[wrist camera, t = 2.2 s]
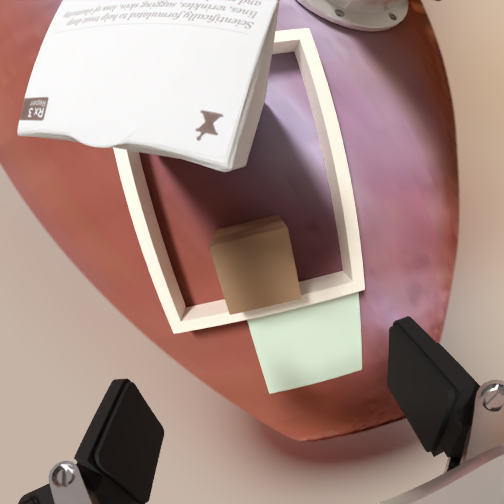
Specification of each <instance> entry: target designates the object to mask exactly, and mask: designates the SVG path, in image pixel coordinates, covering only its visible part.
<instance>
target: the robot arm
mask: <svg viewBox="0 0 504 504" xmlns="http://www.w3.org/2000/svg"><path fill="white" fill-rule="evenodd" d="M297 1H298V2H299V3H301V4H302V5H303V6H305V7H306V8H307V9H309V10H310V11H312V12H314V13H315V14H317V15H318V16H320V17H322V18H324V19H326V20H329V21H331V22H333V23H336V24H338V25H341V26H344V27H347V28H351V29H355V30H361V31H383V30H387V29H390V28H392V27H394V26H396V25H397V24H398V23H400V22H401V21H402V20H403V19H404V17H405V16H406V15H407V11H408V0H297ZM435 1H441V0H435ZM387 383H388V387H389V389H390V391H391V393H392V394H393V396H394V398H395V399H396V401H397V402H398V404H399V406H400V408H401V409H402V411H403V413H404V414H405V416H406V418H407V419H408V421H409V423H410V424H411V426H412V428H413V430H414V431H415V433H416V435H417V436H418V438H419V440H420V442H421V443H422V445H423V447H424V449H425V450H426V451H427V452H430V451H431V452H432V454H433V456H434V457H435V456H436V455H438V454H440V453H442V452H445V454H446V455H447V457H448V461H447V464H446V468H445V471H444V474H442V475H440V476H438V477H437V478H435V479H433V480H431V481H429V482H427V483H425V484H423V485H420V486H418V487H416V488H414V489H412V490H409V491H407V492H405V493H402V494H400V495H398V496H395V497H393V498H390V499H388V500H385V501H383V502H380V503H377V504H504V381H501V380H492V381H489V382H486V383H484V384H483V385H482V386H479V385H478V383H477V382H476V381H475V380H474V379H473V378H472V377H471V376H470V375H469V374H468V373H467V372H466V371H465V369H464V368H463V367H462V366H461V365H460V364H459V363H458V362H457V361H456V360H455V359H454V358H453V357H452V356H451V355H450V354H449V353H448V352H447V351H446V350H445V349H444V348H443V347H442V346H441V345H440V344H439V343H436V342H435V341H434V340H433V339H432V338H431V337H430V336H429V335H428V334H427V333H426V332H425V331H424V330H423V329H422V328H421V327H420V326H419V325H418V324H417V323H416V322H415V321H414V320H413V319H412V318H411V317H409V316H407V317H405V318H402V319H399V320H397V321H395V322H394V323H393V326H392V327H390V329H389V359H388V376H387ZM163 437H164V429H163V427H162V425H161V424H160V422H159V421H158V420H157V418H156V416H155V415H154V413H153V412H152V411H151V409H150V407H149V406H148V404H147V403H146V401H145V400H144V398H143V397H142V395H141V393H140V392H139V390H138V389H137V387H136V385H135V384H134V383H133V382H131V381H130V380H128V379H117V380H113V381H112V383H111V385H110V387H109V389H108V390H107V393H106V394H105V396H104V398H103V400H102V402H101V404H100V406H99V408H98V410H97V412H96V414H95V416H94V418H93V420H92V422H91V424H90V426H89V428H88V430H87V432H86V434H85V436H84V438H83V440H82V442H81V444H80V446H79V448H78V451H77V453H76V455H75V457H74V458H75V459H76V460H77V461H78V462H77V464H74V463H73V462H71V461H62V462H59V463H58V464H56V465H55V466H54V467H53V468H52V469H51V471H50V474H49V484H47V485H45V486H43V487H41V488H39V489H36V490H34V491H32V492H30V493H28V494H26V495H24V496H23V497H22V498H21V499H20V501H19V503H18V504H145V503H147V502H148V501H149V498H150V493H151V489H152V483H153V479H154V475H155V471H156V466H157V462H158V458H159V453H160V449H161V445H162V441H163Z"/></svg>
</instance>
